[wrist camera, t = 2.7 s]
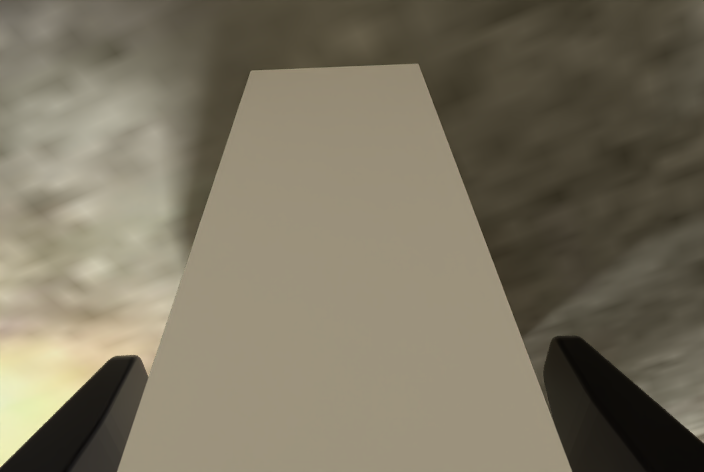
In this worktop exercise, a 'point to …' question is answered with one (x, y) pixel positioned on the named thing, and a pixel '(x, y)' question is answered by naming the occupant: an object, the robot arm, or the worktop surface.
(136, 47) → the worktop surface
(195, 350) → the door panel
